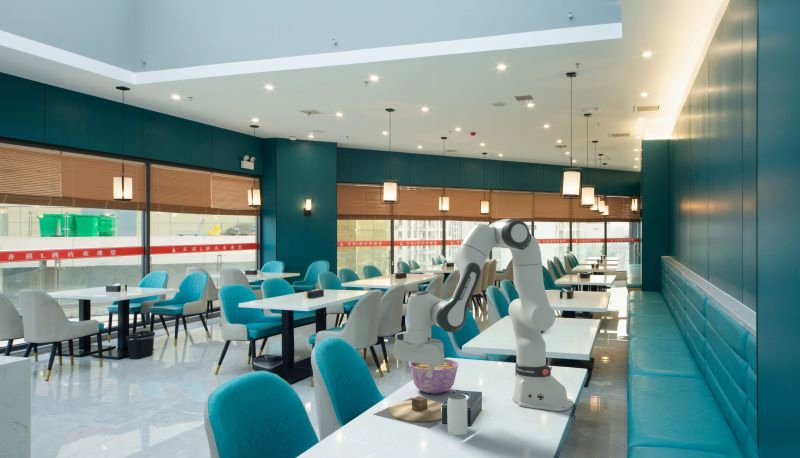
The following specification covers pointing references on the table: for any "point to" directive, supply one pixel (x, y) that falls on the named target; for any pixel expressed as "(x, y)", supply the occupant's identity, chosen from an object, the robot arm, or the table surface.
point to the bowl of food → (434, 376)
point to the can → (457, 414)
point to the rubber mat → (386, 414)
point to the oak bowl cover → (417, 410)
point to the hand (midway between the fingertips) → (418, 374)
